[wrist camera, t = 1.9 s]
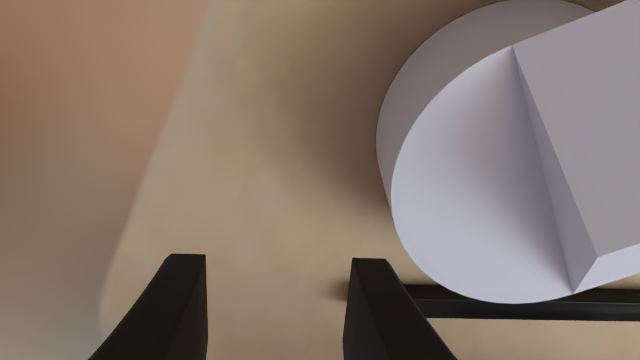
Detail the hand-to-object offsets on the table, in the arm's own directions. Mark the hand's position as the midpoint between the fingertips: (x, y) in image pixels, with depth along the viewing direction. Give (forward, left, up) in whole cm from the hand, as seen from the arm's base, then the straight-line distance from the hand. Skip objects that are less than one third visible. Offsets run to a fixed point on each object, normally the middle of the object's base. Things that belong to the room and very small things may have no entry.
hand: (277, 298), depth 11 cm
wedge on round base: (0, -10, -10) cm, 14 cm away
